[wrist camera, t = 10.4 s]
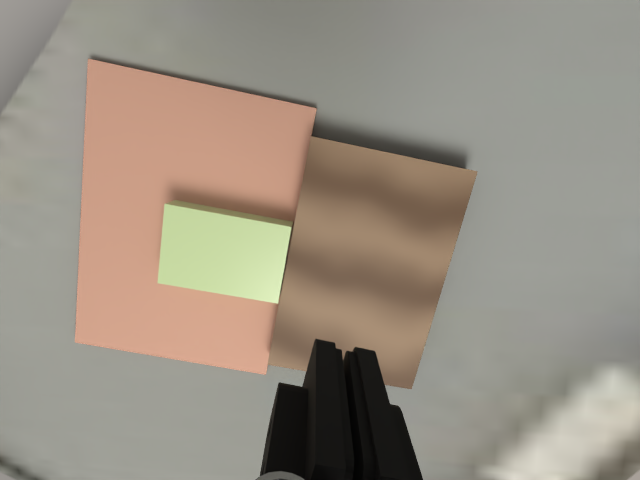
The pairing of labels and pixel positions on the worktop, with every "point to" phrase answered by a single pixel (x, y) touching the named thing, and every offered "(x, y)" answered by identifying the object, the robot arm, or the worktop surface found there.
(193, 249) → the sponge
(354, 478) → the robot arm
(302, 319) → the plate
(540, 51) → the worktop surface
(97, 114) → the mat
